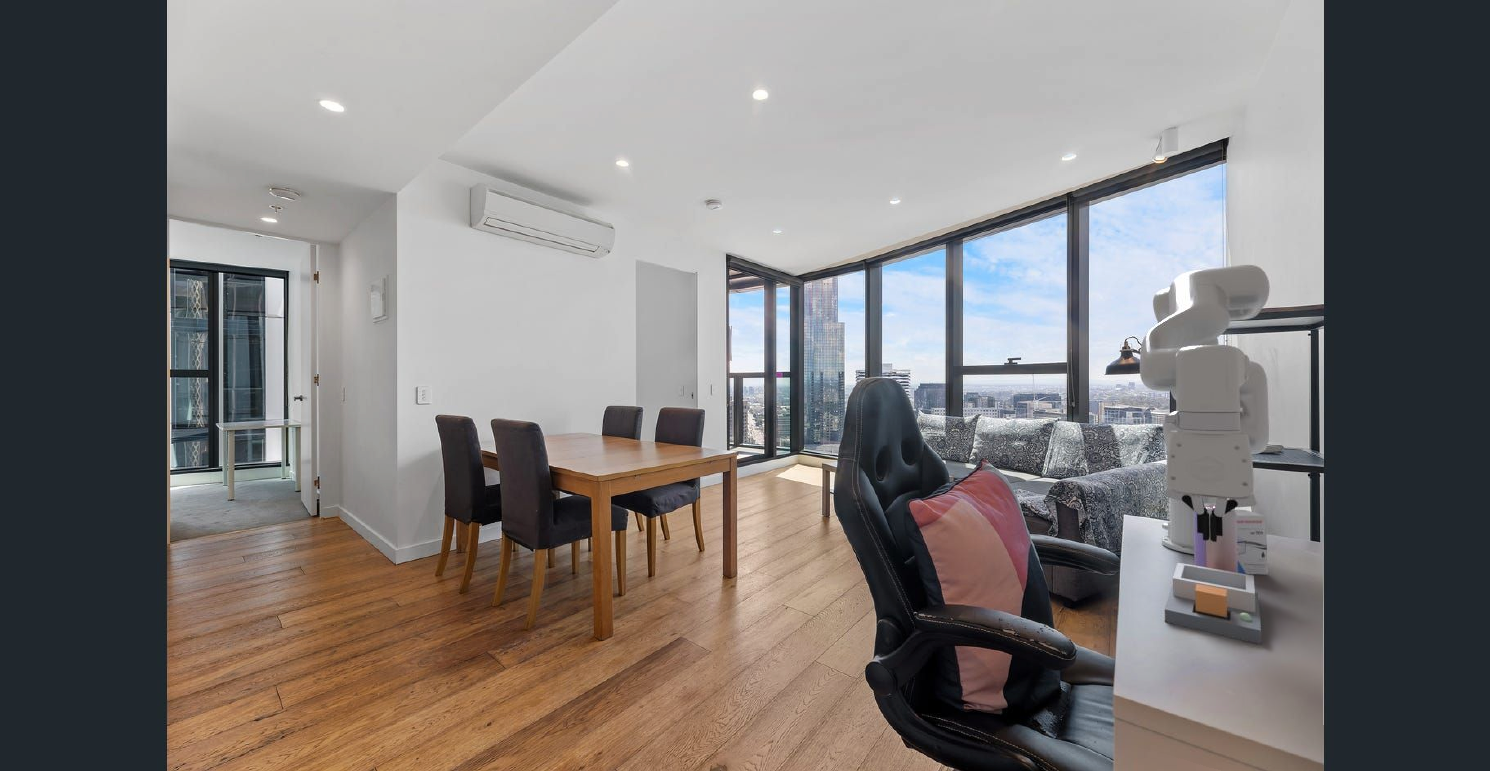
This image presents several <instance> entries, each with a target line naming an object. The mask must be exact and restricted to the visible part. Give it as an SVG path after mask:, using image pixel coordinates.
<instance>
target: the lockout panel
mask: <svg viewBox="0 0 1490 771" xmlns="http://www.w3.org/2000/svg"><path fill="white" fill-rule="evenodd" d="M1254 578H1255V575H1254V574H1241V573H1236V572H1230V571H1224V570H1218V569H1212V568H1206V567H1201V566H1195V564H1188V563H1181V562H1177V564H1176V567H1175V570H1174V574H1173V576H1172V585H1171V588H1170V591H1169V595H1168V598H1167V601H1166V605H1165V607H1164V622H1165V623H1170V624H1173V625H1178V626H1182V627H1186V628H1191V629H1194V630H1199V631H1203V632H1208V633H1211V634H1216V635H1220V636H1224V637H1229V638H1233V639H1237V640H1242V641H1246V642H1250V643H1255V644H1259V645H1262V625H1261V612H1260V602H1259V592H1256V590H1255V579H1254ZM1196 584H1201V585H1206V586H1212V587H1217V588H1222V589H1227V617H1223V616H1219V615H1214V614H1210V613H1205V612H1200V611H1196V602H1195V589H1196Z"/></svg>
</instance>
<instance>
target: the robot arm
mask: <svg viewBox="0 0 1490 771" xmlns="http://www.w3.org/2000/svg"><path fill="white" fill-rule="evenodd" d="M1269 295H1270V281H1269V277H1268V275H1267V274H1266V272H1265V271H1264V270H1263V268H1261V267H1259V266H1257V265H1254V264H1241V265H1240V264H1239V265H1232V266H1231V265H1229V266H1223V267H1216V268H1206V269H1205V268H1204V269H1200V270H1193V271H1188V272H1186V273H1183V274H1181V275H1179V276H1177V277H1176V278H1175V279H1174V280H1173V281H1172V282H1171V283H1170V285H1169V287H1167V288H1165V289H1161V290H1159V291H1158V292H1156V293H1155V295H1154V296H1153V300H1152V305H1153V306H1152V307H1153V313H1154V316H1155V319H1156V321H1157V323H1158V324H1156V325H1155V326H1153V327H1152V328H1151V329H1150V330H1148V331H1147V333H1146V334H1145V336H1144V337H1143V339H1142V342H1141V346H1140V350H1139V351H1140V353H1139V354H1140V356H1139V374H1140V375H1139V376H1140V379H1141V381H1142V383H1143V385H1144V386H1145V387H1146V388H1148V389H1150V390H1152V391H1157V392H1170V393H1171V396H1172V398H1173V399H1174V400H1175V401H1176V402H1175V403H1176V410H1175V411H1172V412H1170V413H1168V414H1166V415H1165V416H1164V419H1163V421H1162V433H1163V437H1164V441H1165V446H1166V453H1167V454H1166V486H1167V487H1166V490H1165V493H1164V494H1165V497H1166V498H1168V499H1169V500H1168V502H1169V505H1168V506H1169V509H1168V510H1169V521H1168V522H1167V523H1162V525H1161V527H1162V529H1164V530H1165V531H1167V535H1165V536H1163V537H1161V544H1162V545H1163V546H1164V547H1166V548H1169V549H1171V550H1174V551H1177V552H1181V553H1185V554H1191V555H1194V512H1195V513H1196V514H1197V533H1202V534H1203V540H1206V541H1207V540H1209V538H1210V540H1212V541H1213V542H1217V536H1223V521H1222V516H1224V515H1225V514H1226V513H1228V512H1229V511H1231V510H1233V509H1234V508H1235V509H1236V508H1246V507H1247V508H1248V507H1250V508H1251V507H1256V506H1257V500H1256V497H1255V494H1254V492H1255V479H1254V478H1255V477H1254V476H1255V475H1254V474H1255V473H1254V466H1253V455H1257V454H1258V455H1259V454H1260V453H1262V452H1263V453H1264V451H1265V450H1267V448H1268V445H1269V437H1270V425H1269V424H1270V423H1269V421H1270V420H1269V390H1268V389H1269V388H1268V386H1269V385H1268V377H1267V373H1266V371H1265V369H1264V367H1263V366H1262V365H1261V364H1259V363H1258V362H1256V361H1251V360H1250V357H1249V356H1248V355H1247V354H1245V353H1244V351H1242V350H1241V349H1240V348H1239V347H1236V346H1232V345H1229V344H1219V339H1218V338H1219V337H1220V336H1221V335H1222V334H1224V333H1225V331H1226V330H1227V329H1228V327H1229V325H1230V323H1231V321H1242V320H1243V321H1244V320H1245V321H1246V320H1249V319H1253V318H1255V317H1256V316H1258V315H1259V314H1260V312H1261V310H1262V309H1263V308H1264V307H1265V305H1266V303H1267V301H1268V299H1269ZM1204 503H1215V508H1214V509H1213V510H1212V514H1210V526H1209V513H1208V512H1207V509H1206V508H1205V506H1204Z"/></svg>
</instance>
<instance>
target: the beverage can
mask: <svg viewBox="0 0 1490 771" xmlns="http://www.w3.org/2000/svg"><path fill="white" fill-rule="evenodd" d="M1204 506H1205V508H1206V509H1207V512H1208V513H1209V526H1210V514H1212V510H1213V509H1214V508H1215V503H1204ZM1235 510H1236V508H1234V509H1233V510H1231V511H1229V512H1228V513H1226V514H1225V515H1224V516H1222V521H1223V536H1217V542H1213V541H1212V540H1210V538H1209V540H1207V541H1206V540H1203V534H1202V533H1197V514H1196V513H1195V512H1194V554H1193V555H1194V557H1193V558H1194V565H1195V566H1201V567H1206V568H1212V569H1218V570H1224V571H1230V572H1236V573H1238V560H1237V515H1236V512H1235Z"/></svg>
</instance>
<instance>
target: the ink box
mask: <svg viewBox="0 0 1490 771" xmlns="http://www.w3.org/2000/svg"><path fill="white" fill-rule="evenodd" d="M1235 512H1236V515H1237V560H1238V573H1241V574H1247V575H1268V574H1269V571H1268V570H1269V568H1268V567H1269V566H1268V564H1269V563H1268V543H1267V542H1268V541H1267V521H1266V520H1267V518H1266V517H1267V516H1266V515H1264V514H1260V513H1256V512H1254V511H1251V510H1247V509H1246V510H1245V509H1235Z"/></svg>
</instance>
